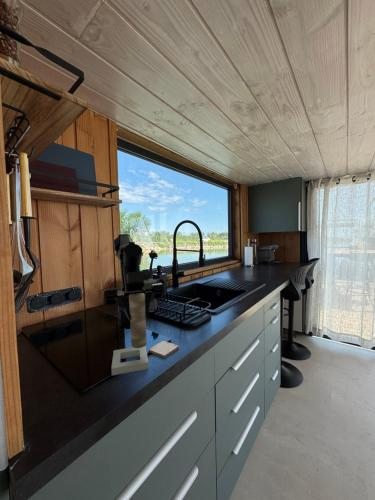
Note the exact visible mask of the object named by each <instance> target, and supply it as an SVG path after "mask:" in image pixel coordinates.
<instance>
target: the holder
mask: <svg viewBox="0 0 375 500" xmlns="http://www.w3.org/2000/svg"><path fill="white" fill-rule="evenodd" d="M133 357H139V359H136V360H135V359H134V360H130V361H124V362H123V361H122V360H123V359H129V358H133ZM110 369H111V376H117V375H123V374H128V373H133V372H139V371H144V370H149V359H148V353H147V345H146V346H144V347H142V348H133V347H127V348H121V349H116V350H115V349H114V350H113V355H112V362H111V368H110Z"/></svg>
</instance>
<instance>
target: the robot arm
mask: <svg viewBox="0 0 375 500" xmlns="http://www.w3.org/2000/svg"><path fill="white" fill-rule="evenodd" d="M113 251H114V252H115V256H116V257H117V258H118V260H119V264H120V275H121V276H120V277H121V289H120V290H118V288H117V287H115V288H105V289H104V290H103V300H104V306H107V307H108V306H113V305H114V306H116V307H118V308H117V309H118V314H120V325H119V326H120V328H121V327H123V328H124V327H131V326H130V321H131V316H130V307H129V295H130V294H133V293H144V294H145V316H146V319H147V318H148V317H149V313H148V311H149V305H150V302H153V301H154V299H156V300H158V299H159V300H161V299H163V298H164V294H165V292H166V287H165V285H163V284H162V282H159V283H157V284H152V286H151V289H143V287H144V280H149V279H151V277H150V269H147V268H146V269H142V271H141V267H140V265H141V263H142V257H143V256H144V252H143V248H142V247H141V246H140V245H139V244H136V242H135V241H133V238H131V235H130V234H129V233H119V234H117V237H116V238H115V239H114V240H113Z"/></svg>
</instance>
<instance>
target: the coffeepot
mask: <svg viewBox="0 0 375 500" xmlns="http://www.w3.org/2000/svg"><path fill="white" fill-rule="evenodd" d="M160 283H162V284H163V285H164V286H165V285H166V281H165V280H164V279H163V278H155V279H152V278H149V280H144V287H143V289H151V286H152V284H160ZM157 305H158V302H157V299H154V301H153V302H150V305H149V310H153V309H156V308H157Z"/></svg>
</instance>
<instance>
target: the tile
mask: <svg viewBox="0 0 375 500" xmlns="http://www.w3.org/2000/svg"><path fill="white" fill-rule="evenodd" d="M178 349H179V345H177V344H174V343H171V342H167V341H166V340H162V341H160V342H159V343H156V344H155V345H154V346H152V347H150V348H148V352H149V351H150V352H149V353H151V354H154V355H156V356H158V357H161V358H164V359H165V358H167V357H168V356H170V355H171V354H172V353H174V352H176V351H177V350H178Z"/></svg>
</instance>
